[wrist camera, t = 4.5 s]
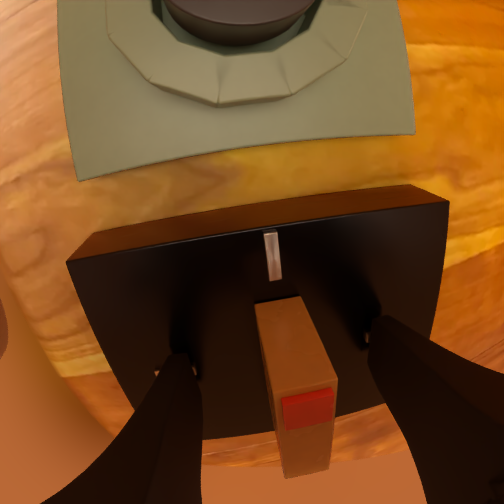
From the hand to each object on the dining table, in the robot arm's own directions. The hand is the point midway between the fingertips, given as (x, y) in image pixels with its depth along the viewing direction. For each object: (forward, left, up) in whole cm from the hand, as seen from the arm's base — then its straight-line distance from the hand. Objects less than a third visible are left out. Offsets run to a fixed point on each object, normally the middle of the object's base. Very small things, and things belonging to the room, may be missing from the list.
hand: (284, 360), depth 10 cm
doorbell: (0, +11, -3) cm, 11 cm away
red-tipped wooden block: (0, 0, 0) cm, 0 cm away
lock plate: (0, 0, -3) cm, 3 cm away
